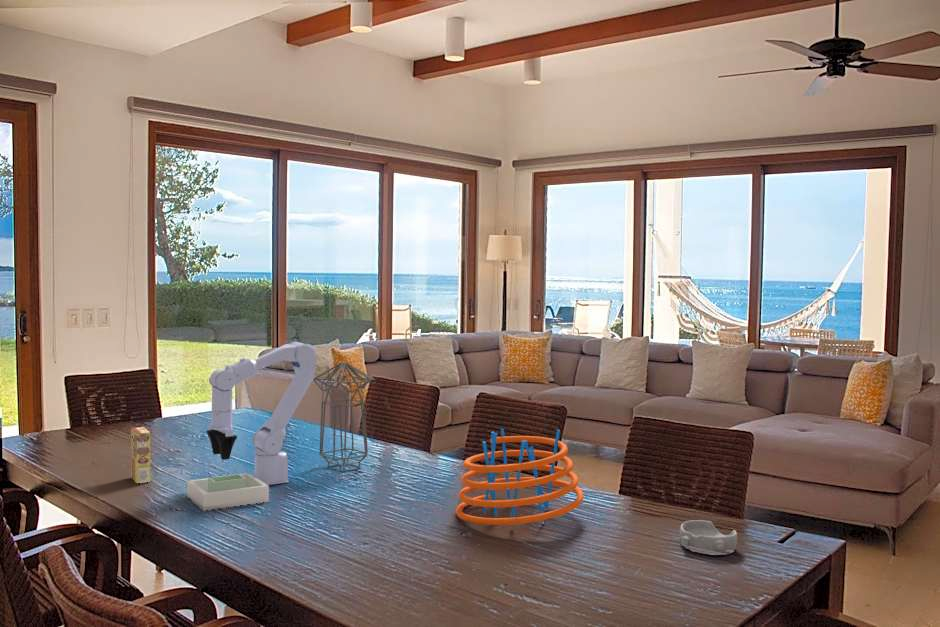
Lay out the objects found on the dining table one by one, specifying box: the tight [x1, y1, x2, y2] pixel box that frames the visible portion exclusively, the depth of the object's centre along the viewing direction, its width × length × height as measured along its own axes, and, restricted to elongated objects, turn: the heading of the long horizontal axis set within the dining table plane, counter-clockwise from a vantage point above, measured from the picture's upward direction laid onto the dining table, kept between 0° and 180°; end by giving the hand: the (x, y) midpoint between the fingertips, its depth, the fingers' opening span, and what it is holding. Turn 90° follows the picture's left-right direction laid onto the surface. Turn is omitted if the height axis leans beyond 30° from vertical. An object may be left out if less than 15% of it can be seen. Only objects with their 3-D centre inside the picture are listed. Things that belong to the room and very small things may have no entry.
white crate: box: [186, 472, 270, 512], centre depth 229 cm, size 18×16×4 cm
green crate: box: [207, 473, 246, 493], centre depth 229 cm, size 9×6×5 cm, turn 125°
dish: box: [679, 519, 738, 551], centre depth 200 cm, size 14×14×5 cm
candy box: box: [130, 426, 151, 485], centre depth 245 cm, size 9×4×15 cm, turn 33°
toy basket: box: [455, 427, 585, 526], centre depth 220 cm, size 34×35×24 cm
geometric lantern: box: [312, 361, 375, 472], centre depth 268 cm, size 16×16×35 cm
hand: (221, 456), depth 239 cm, fingers open, 7 cm apart
